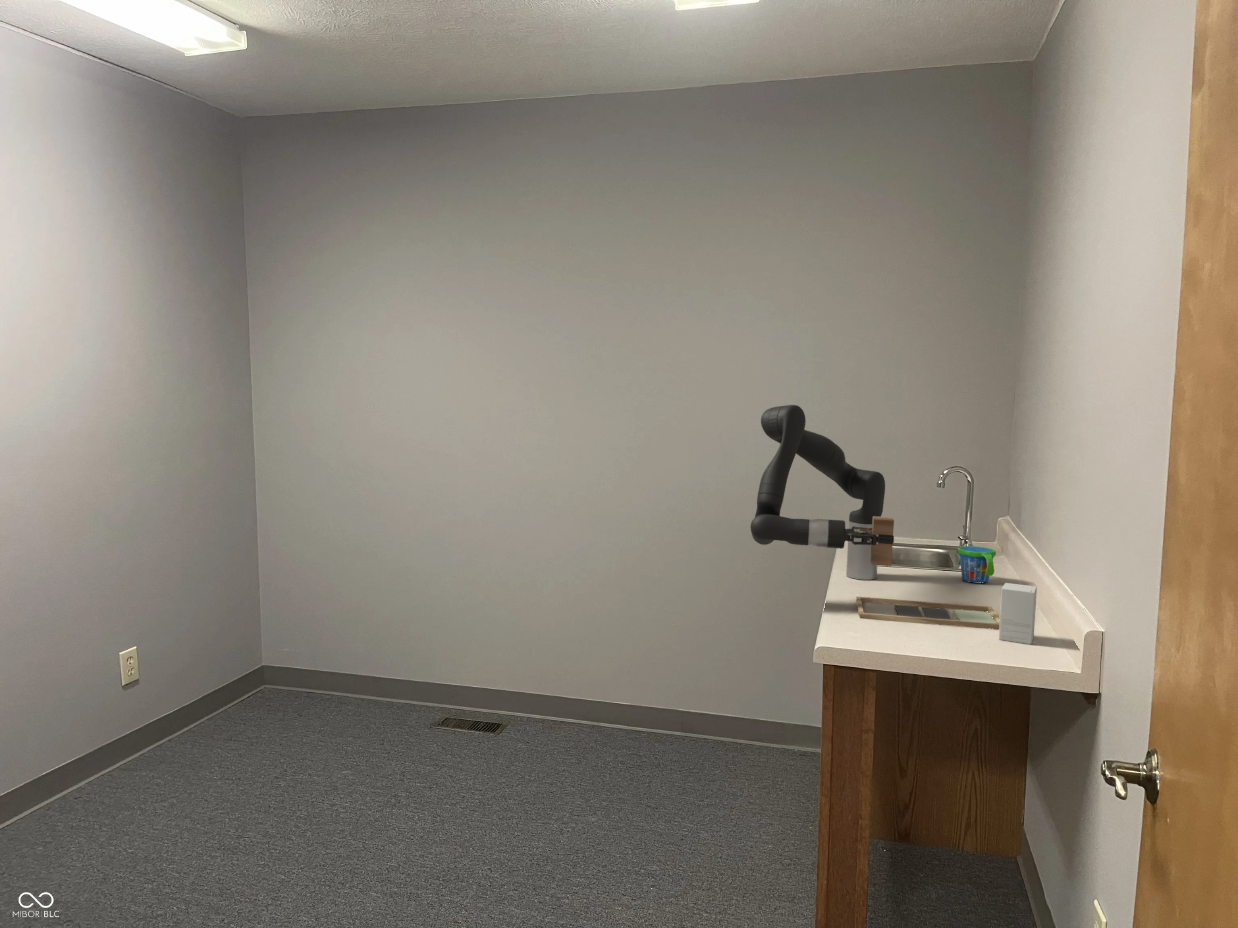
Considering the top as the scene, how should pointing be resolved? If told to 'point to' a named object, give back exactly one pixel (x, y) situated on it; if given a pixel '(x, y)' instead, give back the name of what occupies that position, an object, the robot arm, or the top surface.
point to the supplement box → (1017, 613)
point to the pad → (974, 616)
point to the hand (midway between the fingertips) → (892, 537)
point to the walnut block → (882, 551)
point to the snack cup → (976, 563)
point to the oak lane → (927, 620)
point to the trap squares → (928, 612)
